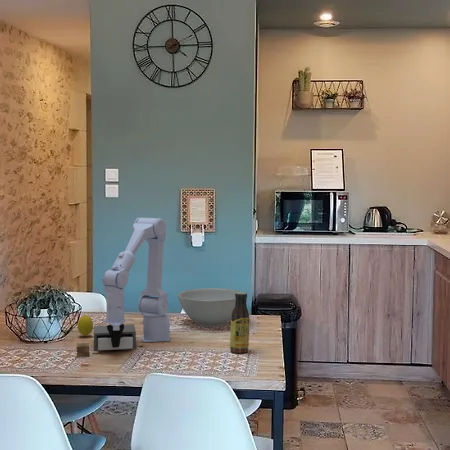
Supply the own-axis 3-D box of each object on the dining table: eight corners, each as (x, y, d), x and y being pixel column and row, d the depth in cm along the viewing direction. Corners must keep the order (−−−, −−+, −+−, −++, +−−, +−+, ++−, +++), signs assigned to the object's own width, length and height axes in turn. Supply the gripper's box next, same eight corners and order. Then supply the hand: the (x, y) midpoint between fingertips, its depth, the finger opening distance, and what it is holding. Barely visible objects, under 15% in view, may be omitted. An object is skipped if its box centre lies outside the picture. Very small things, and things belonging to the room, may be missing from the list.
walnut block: (89, 353, 215) (89, 342, 214) (89, 356, 211) (89, 346, 210) (77, 353, 214) (76, 343, 214) (76, 357, 210) (76, 346, 210)
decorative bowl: (164, 323, 258) (164, 293, 257) (214, 313, 276) (214, 285, 275) (208, 336, 238) (208, 303, 238) (259, 324, 256) (259, 294, 255)
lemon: (89, 338, 234) (89, 316, 233) (75, 338, 235) (74, 316, 234) (95, 335, 239) (95, 313, 238) (81, 334, 240) (81, 313, 239)
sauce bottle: (235, 354, 213) (235, 295, 212) (226, 350, 219) (226, 292, 217) (252, 352, 216) (253, 293, 215) (243, 348, 222) (244, 290, 220)
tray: (131, 341, 226) (130, 330, 226) (132, 348, 216) (132, 337, 216) (97, 342, 224) (97, 332, 223) (98, 350, 214) (97, 339, 214)
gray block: (133, 340, 231) (133, 324, 231) (135, 348, 221) (135, 331, 220) (93, 342, 229) (93, 325, 228) (94, 350, 218) (93, 333, 217)
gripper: (102, 302, 219) (102, 341, 220) (103, 311, 205) (103, 353, 206) (123, 301, 220) (123, 340, 221) (125, 310, 206) (126, 352, 207)
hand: (115, 347), depth 214 cm, fingers closed
